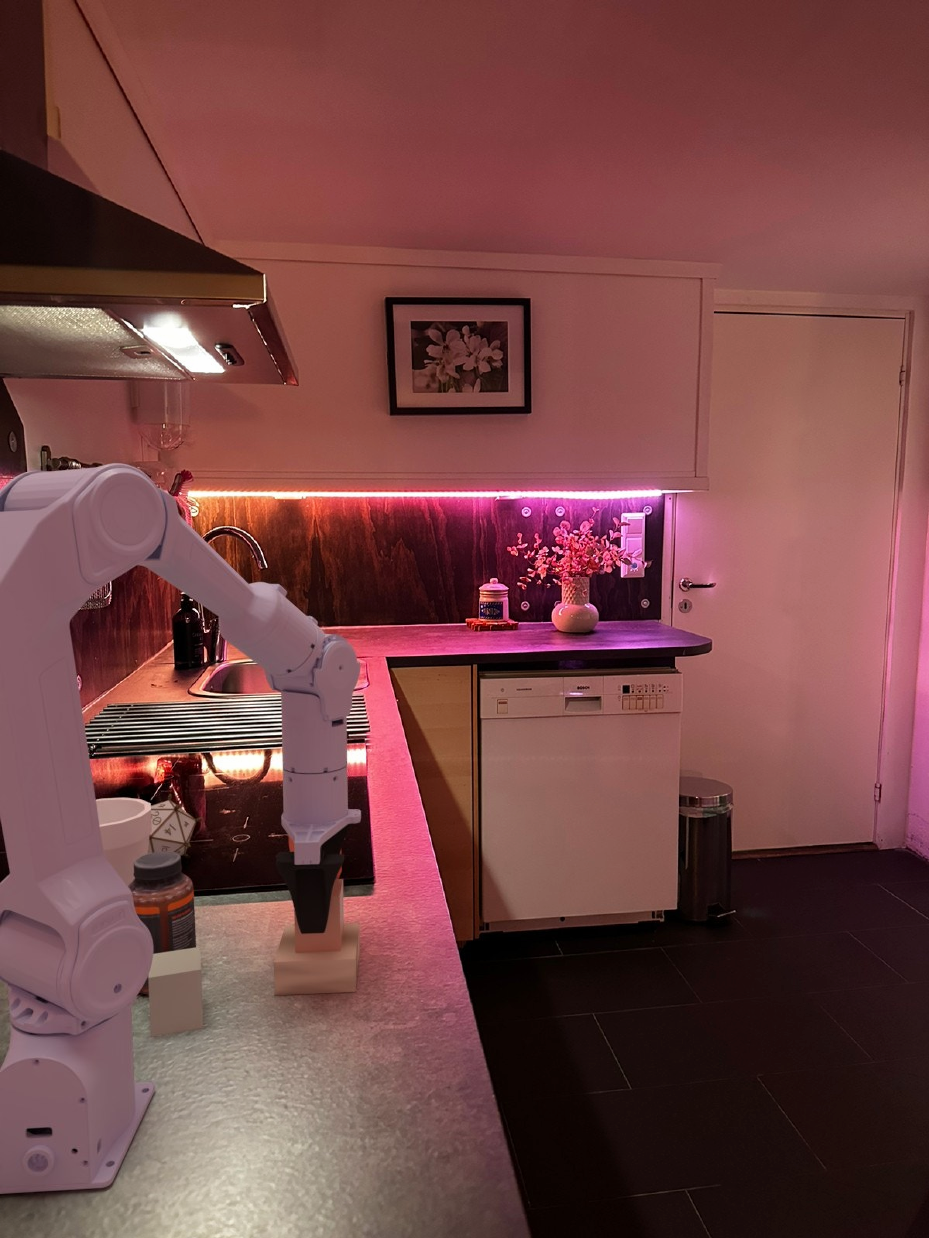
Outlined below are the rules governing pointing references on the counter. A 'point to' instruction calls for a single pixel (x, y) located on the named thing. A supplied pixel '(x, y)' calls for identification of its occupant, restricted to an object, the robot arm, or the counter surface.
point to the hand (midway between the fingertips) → (317, 912)
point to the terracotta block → (334, 928)
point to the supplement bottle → (164, 902)
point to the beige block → (175, 992)
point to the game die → (170, 828)
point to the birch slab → (317, 965)
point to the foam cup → (124, 832)
